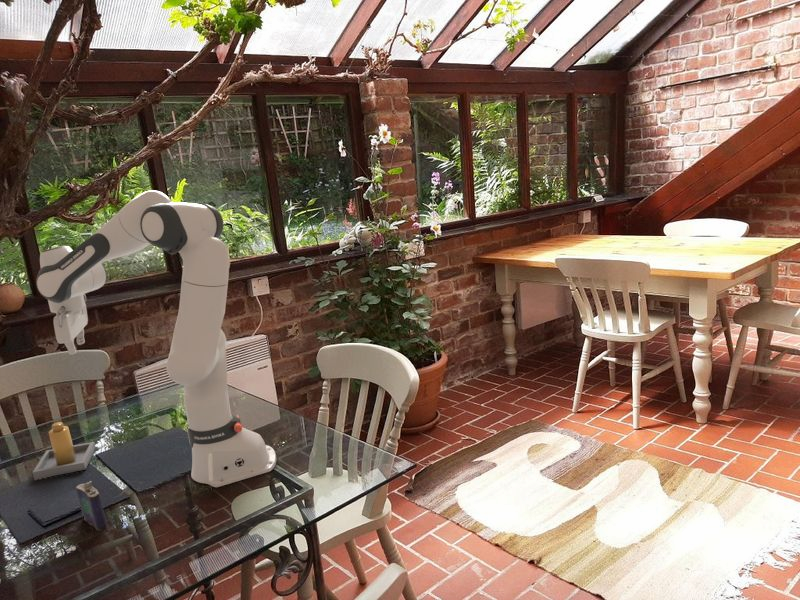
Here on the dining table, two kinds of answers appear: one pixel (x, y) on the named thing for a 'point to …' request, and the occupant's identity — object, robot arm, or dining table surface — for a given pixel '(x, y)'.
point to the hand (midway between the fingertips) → (77, 348)
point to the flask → (91, 506)
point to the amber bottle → (62, 444)
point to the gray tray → (50, 467)
